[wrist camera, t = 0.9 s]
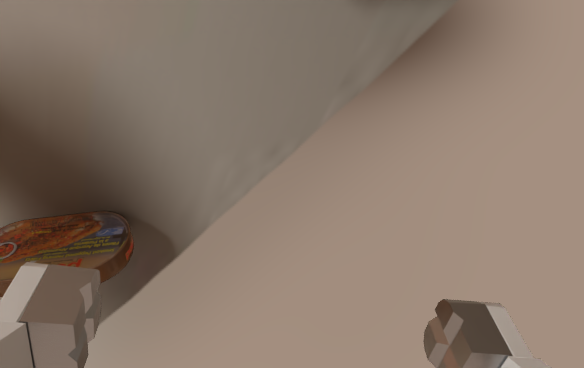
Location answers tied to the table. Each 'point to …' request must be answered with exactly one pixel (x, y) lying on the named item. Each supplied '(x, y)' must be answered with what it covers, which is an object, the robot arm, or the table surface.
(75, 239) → the tin
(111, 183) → the table surface
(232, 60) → the table surface
